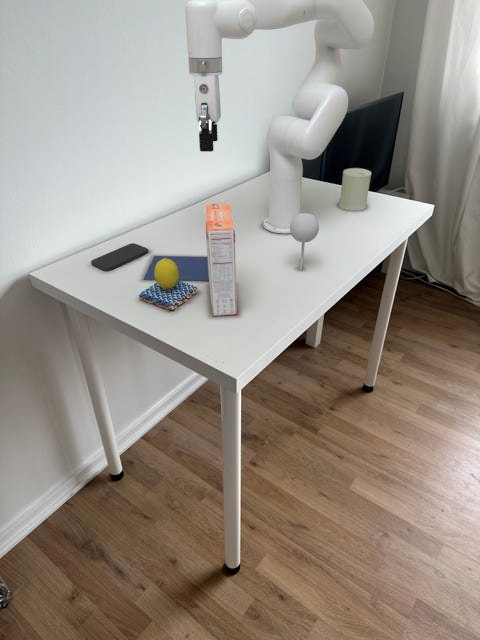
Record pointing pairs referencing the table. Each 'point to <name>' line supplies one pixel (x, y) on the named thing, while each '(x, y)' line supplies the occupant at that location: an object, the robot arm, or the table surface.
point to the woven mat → (168, 295)
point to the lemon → (166, 273)
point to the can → (355, 189)
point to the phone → (119, 256)
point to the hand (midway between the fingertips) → (209, 145)
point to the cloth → (183, 268)
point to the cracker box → (221, 259)
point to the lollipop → (304, 230)
